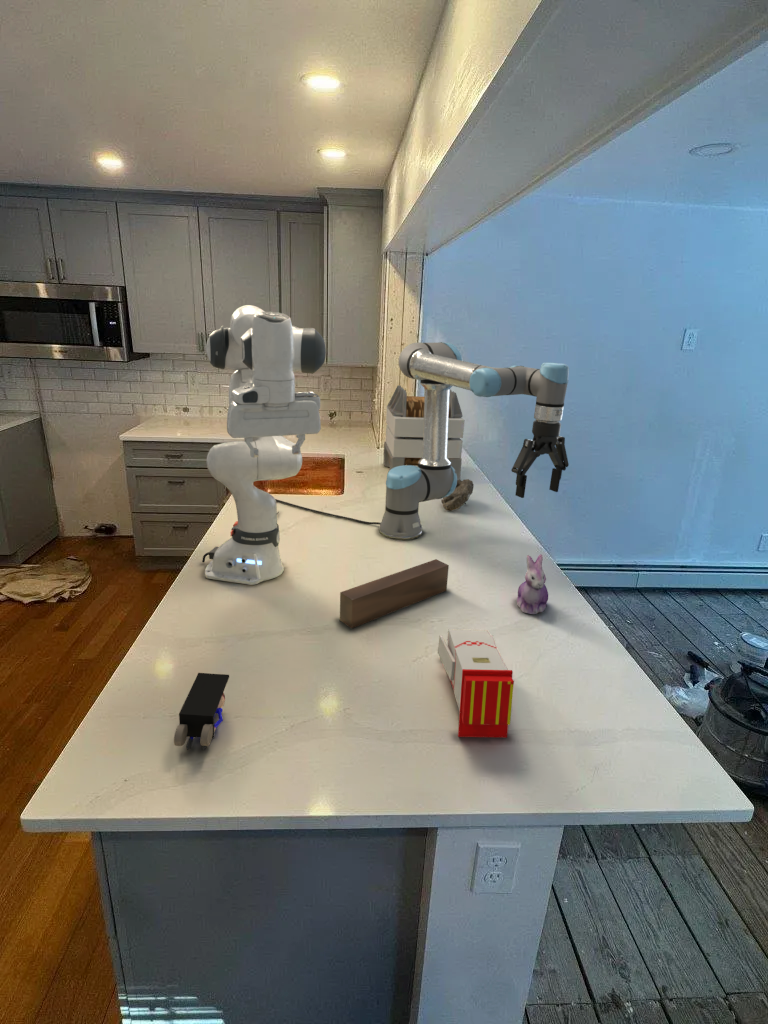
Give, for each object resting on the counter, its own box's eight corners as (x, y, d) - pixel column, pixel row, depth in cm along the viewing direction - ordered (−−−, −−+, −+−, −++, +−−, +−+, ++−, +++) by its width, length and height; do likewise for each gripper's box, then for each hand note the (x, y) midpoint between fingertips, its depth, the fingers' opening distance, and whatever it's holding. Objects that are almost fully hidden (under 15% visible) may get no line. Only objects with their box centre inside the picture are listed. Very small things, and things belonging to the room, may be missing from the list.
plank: (339, 620, 143) (340, 592, 141) (434, 584, 165) (436, 559, 162) (351, 628, 140) (352, 600, 137) (446, 590, 161) (448, 565, 158)
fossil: (437, 485, 243) (466, 466, 238) (450, 501, 245) (479, 483, 240) (436, 507, 223) (469, 487, 218) (450, 525, 226) (482, 505, 221)
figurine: (531, 619, 148) (539, 566, 143) (506, 601, 156) (512, 551, 151) (558, 611, 152) (567, 560, 147) (532, 595, 160) (539, 546, 155)
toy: (488, 613, 130) (523, 677, 101) (484, 667, 133) (517, 744, 104) (435, 612, 130) (455, 676, 101) (432, 666, 133) (451, 743, 103)
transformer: (382, 463, 289) (386, 382, 275) (445, 464, 293) (451, 384, 279) (390, 482, 257) (394, 392, 243) (460, 483, 261) (468, 394, 247)
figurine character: (213, 763, 99) (233, 700, 112) (209, 732, 95) (230, 670, 109) (174, 763, 99) (198, 699, 112) (169, 731, 95) (194, 669, 109)
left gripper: (315, 389, 128) (315, 449, 133) (223, 391, 120) (226, 454, 124) (325, 393, 123) (324, 455, 128) (229, 395, 114) (232, 462, 119)
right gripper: (524, 426, 148) (514, 503, 155) (588, 420, 160) (576, 492, 167) (504, 420, 154) (495, 495, 161) (568, 415, 166) (557, 484, 173)
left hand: (275, 455), depth 126 cm, fingers open, 8 cm apart
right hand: (536, 493), depth 164 cm, fingers open, 13 cm apart
